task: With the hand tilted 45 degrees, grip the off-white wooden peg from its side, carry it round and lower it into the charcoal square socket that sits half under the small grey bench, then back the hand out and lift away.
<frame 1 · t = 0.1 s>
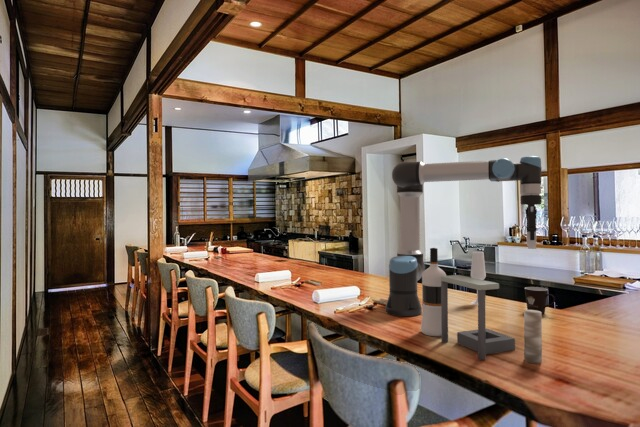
hand: (531, 247, 166), 28 cm above the counter, tool pointing down, fingers open, 13 cm apart
coffee mug: (538, 313, 171), on the counter
vodka: (434, 333, 144), on the counter
small grey bench: (468, 314, 128), on the counter
champagne flute: (478, 303, 191), on the counter
socket block: (485, 346, 130), on the counter
peg: (533, 360, 117), on the counter
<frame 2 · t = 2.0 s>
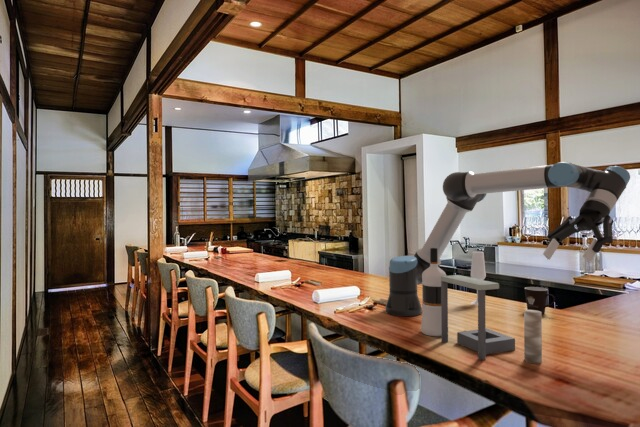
hand: (565, 258, 125), 28 cm above the counter, tool tilted 45°, fingers open, 13 cm apart
nothing on the counter moved.
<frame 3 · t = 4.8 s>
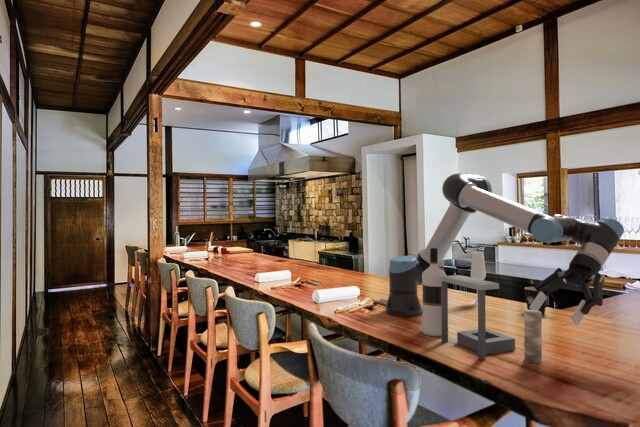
hand: (552, 315, 119), 12 cm above the counter, tool tilted 45°, fingers open, 13 cm apart
nothing on the counter moved.
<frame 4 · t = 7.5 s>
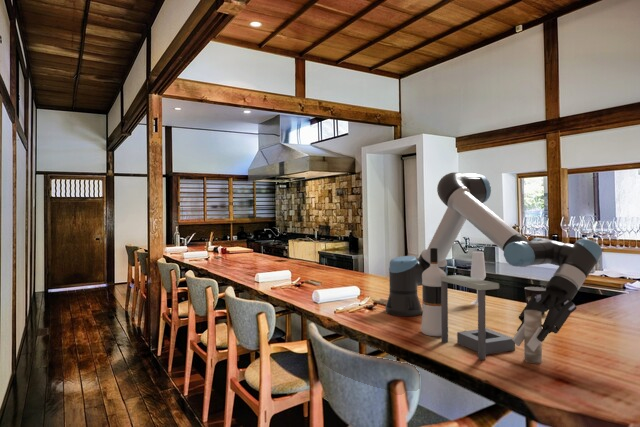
hand: (522, 345, 116), 5 cm above the counter, tool tilted 45°, fingers closed on peg, 4 cm apart
peg: (533, 360, 117), on the counter, touching gripper
everything else where it was.
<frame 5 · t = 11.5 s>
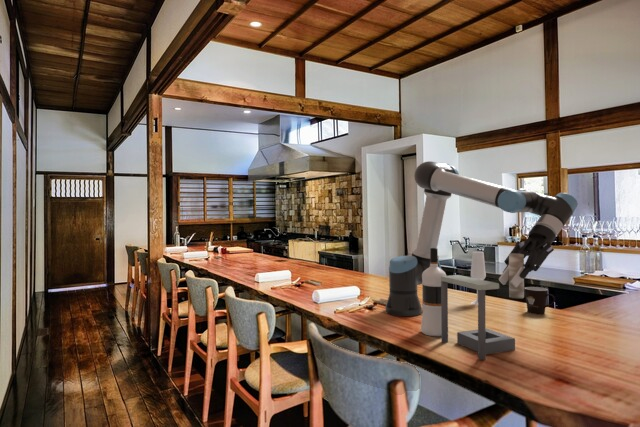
hand: (507, 283, 133), 19 cm above the counter, tool tilted 45°, fingers closed on peg, 4 cm apart
peg: (516, 297, 134), point 15 cm above the counter, touching gripper
everything else where it was.
when the fingers open (6 cm above the counter, at t = 15.6 s): peg stays where it is, resting in socket block.
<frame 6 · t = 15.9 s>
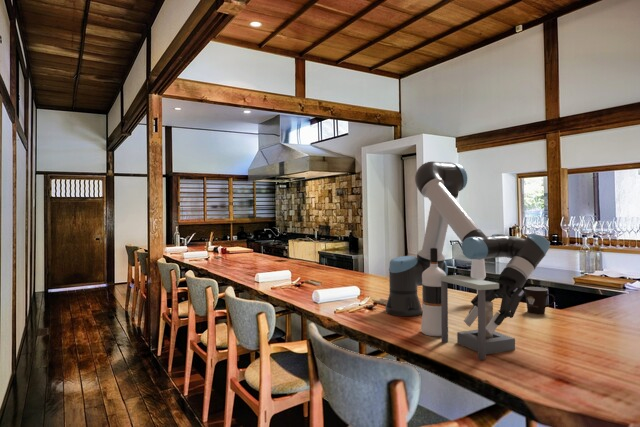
hand: (477, 327, 129), 6 cm above the counter, tool tilted 45°, fingers open, 9 cm apart
peg: (485, 346, 130), resting in socket block
everything else where it was.
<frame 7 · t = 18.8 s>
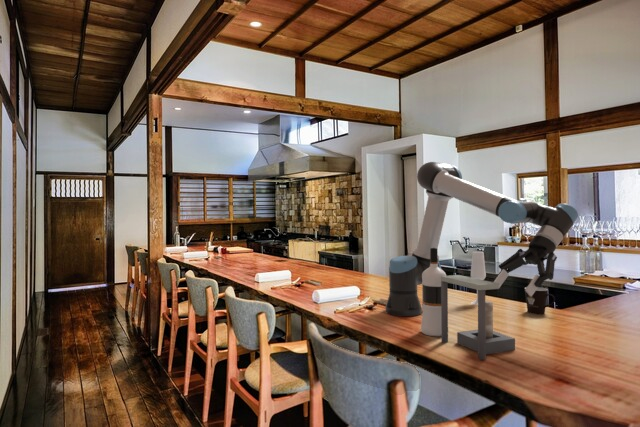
hand: (510, 289, 134), 17 cm above the counter, tool tilted 45°, fingers open, 13 cm apart
nothing on the counter moved.
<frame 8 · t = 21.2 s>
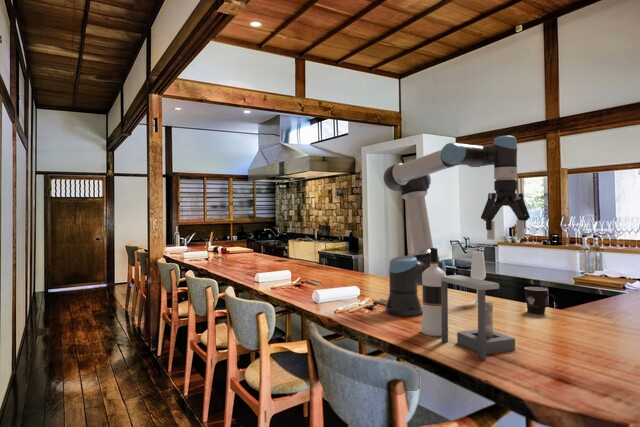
hand: (505, 239, 147), 33 cm above the counter, tool pointing down, fingers open, 13 cm apart
nothing on the counter moved.
at the end: peg 0.1 cm off-centre on the socket block, point 0.0 cm above the socket block's base; peg tilted 0°; the gripper is holding nothing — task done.
